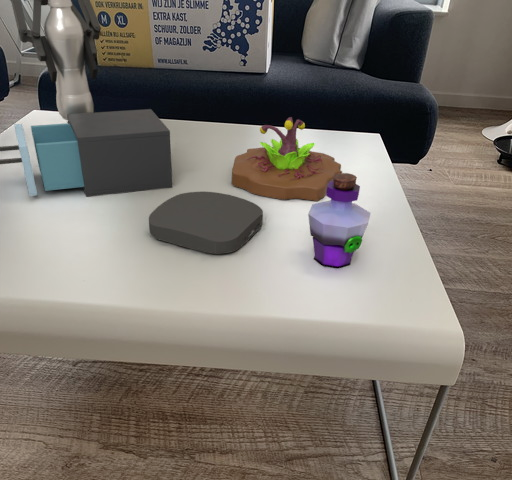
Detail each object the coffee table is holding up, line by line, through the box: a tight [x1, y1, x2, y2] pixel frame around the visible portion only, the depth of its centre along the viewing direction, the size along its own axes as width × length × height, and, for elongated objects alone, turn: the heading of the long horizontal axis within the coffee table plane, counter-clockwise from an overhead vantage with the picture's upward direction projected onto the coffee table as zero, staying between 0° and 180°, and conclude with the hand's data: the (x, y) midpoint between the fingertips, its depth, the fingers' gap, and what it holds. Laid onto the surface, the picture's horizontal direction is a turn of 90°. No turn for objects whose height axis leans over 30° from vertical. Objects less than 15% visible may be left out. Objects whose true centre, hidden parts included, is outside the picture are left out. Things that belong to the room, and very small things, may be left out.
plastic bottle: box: [43, 0, 95, 121], centre depth 95 cm, size 6×7×20 cm
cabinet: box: [66, 108, 174, 197], centre depth 93 cm, size 15×13×10 cm
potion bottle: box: [307, 172, 371, 270], centre depth 73 cm, size 9×9×12 cm
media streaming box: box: [148, 191, 264, 255], centre depth 82 cm, size 15×15×3 cm
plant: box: [231, 116, 343, 202], centre depth 96 cm, size 20×20×11 cm
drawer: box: [0, 122, 84, 197], centre depth 90 cm, size 18×11×8 cm, turn 112°
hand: (74, 75), depth 93 cm, fingers closed on plastic bottle, 6 cm apart
